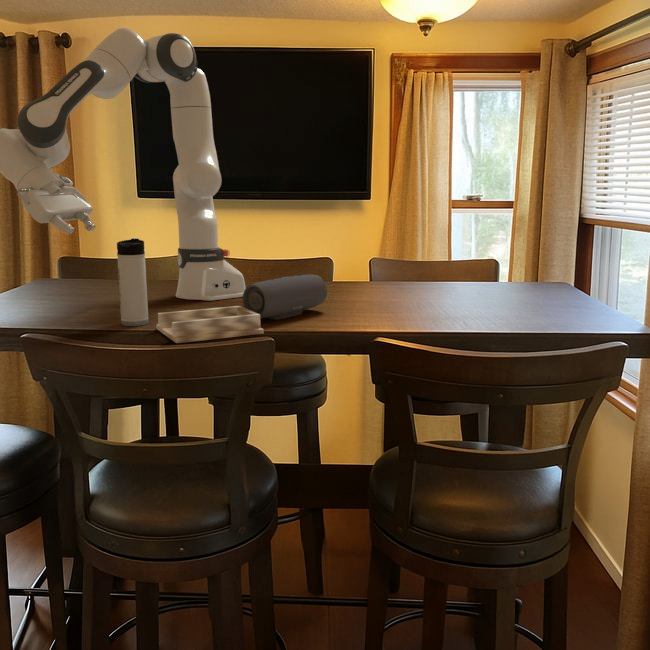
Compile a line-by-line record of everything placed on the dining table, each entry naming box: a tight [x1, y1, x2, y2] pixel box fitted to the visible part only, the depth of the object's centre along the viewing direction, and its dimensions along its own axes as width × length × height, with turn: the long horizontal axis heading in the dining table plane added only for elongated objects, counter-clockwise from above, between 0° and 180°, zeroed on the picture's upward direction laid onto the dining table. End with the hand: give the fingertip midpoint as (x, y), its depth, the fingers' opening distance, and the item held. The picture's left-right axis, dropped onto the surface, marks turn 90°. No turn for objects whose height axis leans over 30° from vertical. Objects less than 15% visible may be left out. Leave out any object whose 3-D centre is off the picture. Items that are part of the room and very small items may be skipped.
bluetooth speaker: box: [241, 274, 328, 320], centre depth 173 cm, size 23×9×10 cm, turn 141°
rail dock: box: [155, 305, 265, 344], centre depth 156 cm, size 20×16×4 cm
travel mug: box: [116, 238, 149, 327], centre depth 162 cm, size 6×7×20 cm
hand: (82, 230), depth 162 cm, fingers open, 8 cm apart
